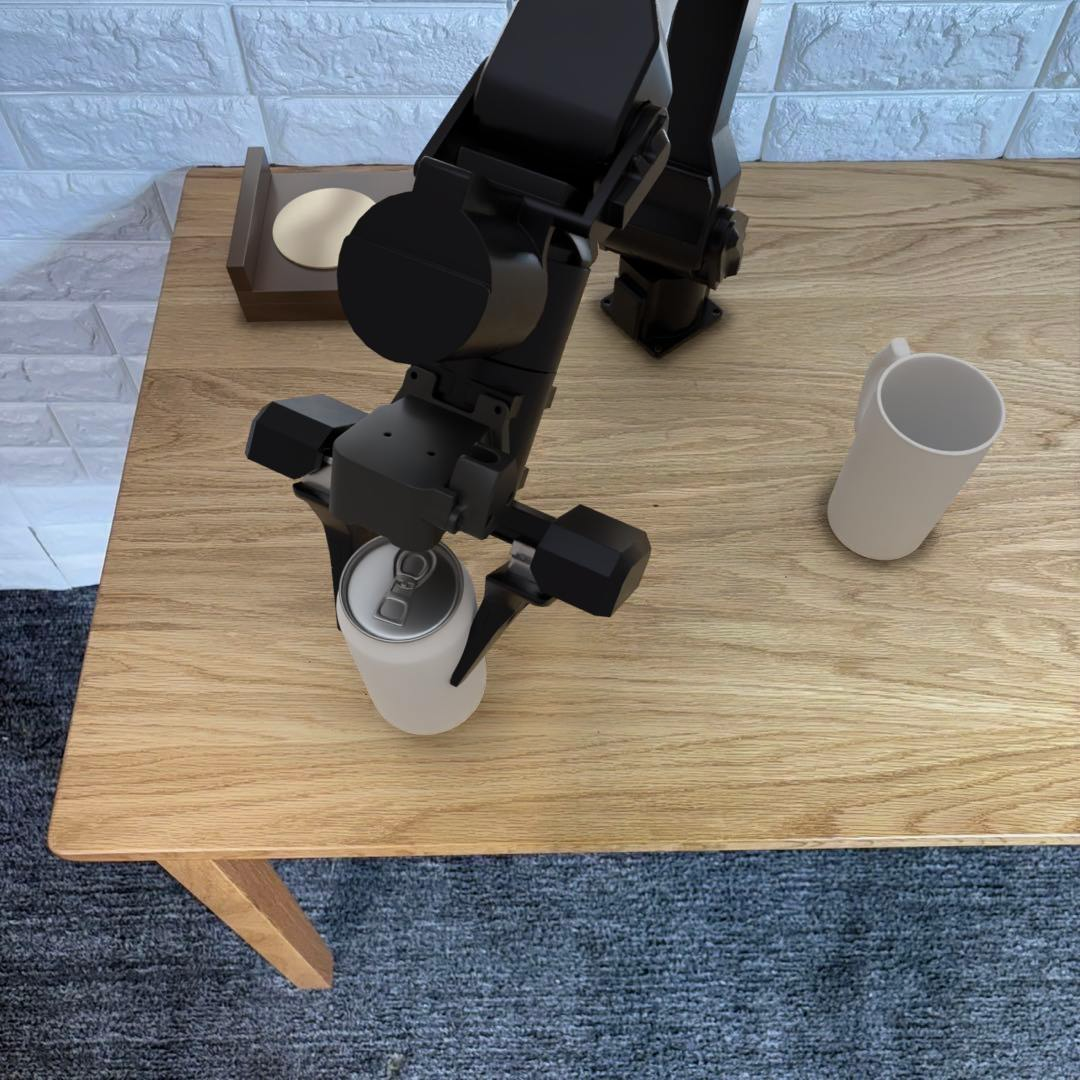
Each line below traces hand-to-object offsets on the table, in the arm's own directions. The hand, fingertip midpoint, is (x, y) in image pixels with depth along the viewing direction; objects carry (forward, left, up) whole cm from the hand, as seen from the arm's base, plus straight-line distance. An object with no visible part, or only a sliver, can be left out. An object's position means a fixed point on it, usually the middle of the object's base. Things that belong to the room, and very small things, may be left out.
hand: (399, 655), depth 49 cm
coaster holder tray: (-16, -33, -9) cm, 38 cm away
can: (-1, -1, -7) cm, 7 cm away
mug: (-31, +6, -9) cm, 33 cm away
